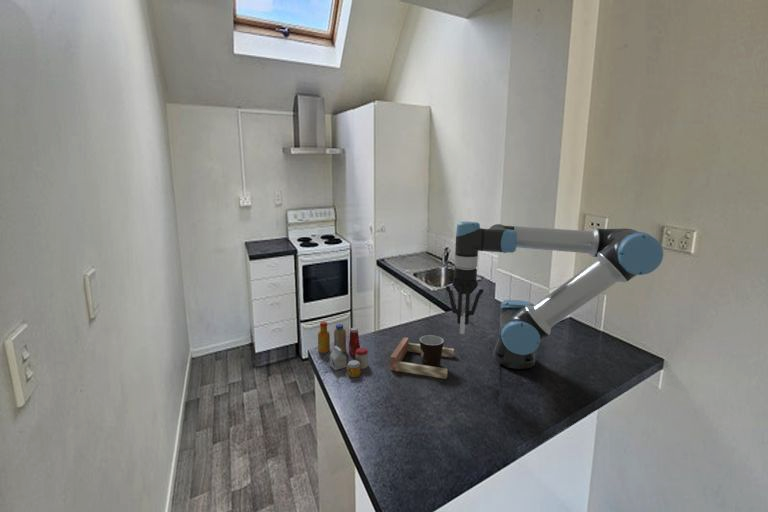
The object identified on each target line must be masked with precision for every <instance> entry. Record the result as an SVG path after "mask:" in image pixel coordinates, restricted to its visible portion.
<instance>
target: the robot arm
mask: <svg viewBox="0 0 768 512" xmlns="http://www.w3.org/2000/svg"><path fill="white" fill-rule="evenodd" d="M455 233H456V234H455V252H454V253H455V254H454V266H455V267H454V273H453V280H452V282H451V283H450V284H447V285H446V286H445V289H446V291H447V293H448V296H449V301H450V306H451V312H452V313H453V314H456V316H457V318H456V323H457V324H458V325H459V335H465V332H466V331H465V330H466V326H467V325H469V323H470V322H469V321H470V320H469V319H470V316H474V315H475V312H476V309H477V306H478V303H479V300H480V297H481V296H482V294H483V293H484V291H485V290H484V288H483V287H481V286H479V284H478V281H477V277H478V275H477V274H478V269H477V267H478V262H479V261H478V260H479V259H478V258H479V252H491V253H492V252H493V253H503V254H506V253H508V254H509V253H511V254H512V253H516V250H517V248H518V249H519V248H521V249H532V250H543V251H556V252H557V251H558V252H565V253H566V252H568V253H580V254H588V255H590V257H593V258H596V260H594V261H593V262H591V264H589V265H588V266H586V267H584V269H582V270H581V271H580V272H578V273H576V274H575V275H574V276H573V277H571V278H570V279H569V280H567V281H566V282H564V283H563V284H561V285H560V286H559V287H557V288H556V289H554V290H553V291H552V292H551V293H549V294H548V295H545V297H544V298H542V299H540V301H538V302H536V303H532V302H530V301H525V300H521V299H506V300H504V299H503V301H501V303H500V313H499V314H500V317H499V332H498V333H499V334H498V339H497V341H496V344H495V346H494V349H493V351H492V357H493V360H494V361H495V362H497V363H498V364H499V365H501V366H503V367H506V368H511V369H516V370H525V369H529V368H530V369H531V368H533V366H535V364H536V354H535V352H536V351H537V349H539V346H540V345H541V342H542V341H543V340H544V339H546V338H547V337H548V336H550V334H551V332H552V327H554V326H555V325H557V324H558V323H559V322H561V321H562V320H564V319H566V317H568V316H570V315H571V314H572V313H574V312H576V311H577V310H579V309H580V308H582V306H584V305H586V304H588V303H589V302H590V301H591V300H593V299H595V298H596V297H597V296H600V295H601V294H602V293H603V292H605V291H606V290H607V289H609V288H610V287H612V286H613V285H615V284H616V283H618V282H619V283H627V282H629V281H630V280H631V279H633V278H635V277H637V276H642V275H643V276H644V275H647V274H651V273H652V272H654V271H655V270H657V269H658V268H659V267H660V265H661V263H662V262H663V259H664V248H663V246H662V244H661V242H660V241H659V240H658V239H657V238H656V237H654V236H652V235H651V234H649V233H646V232H641V231H637V230H635V229H631V228H596V227H595V228H594V229H592V230H578V229H563V228H561V229H560V228H550V227H549V228H547V227H532V226H513V225H503V224H501V223H497V224H493V225H491V226H490V227H489V228H482V227H480V223H479V222H477V221H460V222H458V223H457V225H456V232H455ZM454 289H455V291H456V292H457V297H458V298H457V305H456V299H455V295H454V291H453V290H454ZM474 291H475V292H476V295H475V298H474V300H473V304H472V307H471V306H470V303H471V294H472V293H473V292H474ZM463 295H465V308H464V313H463V297H464V296H463ZM470 307H471V309H470Z"/></svg>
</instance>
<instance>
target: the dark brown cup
mask: <svg viewBox="0 0 768 512" xmlns="http://www.w3.org/2000/svg"><path fill="white" fill-rule="evenodd" d="M419 344H420V348H421V353H420V356H421V357H420V358H421V365H427V366H433V367H440V365H441V362H442V361H441V360H442V356H441V355H442V349H443V347H444V338H442V337H441V336H437V335H430V334H428V335H423V336H421V337H419ZM440 368H441V367H440Z"/></svg>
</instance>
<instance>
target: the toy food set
mask: <svg viewBox="0 0 768 512" xmlns="http://www.w3.org/2000/svg"><path fill="white" fill-rule="evenodd" d="M319 326H320V328H319V329H320V331H318V333H317V351H318V352H319V353H325V354H326V353H327V352H329V351H330V350H331V349H330V348H331V346H330V342H331V341H330V339H331V338H330V336H331V335H330V332H329V331H328V322H327V321H321V322H319ZM333 334H334V335H333V339H334V340H333V341H334V343H333V344H334V346H333V350H332V351H331V353H330V355H329V366H330V367H331V368H333V370H335V371H338V370H342V369H344V368H346V369H347V376H348V377H350V378H356V377H359V376H360V375H361V370H363V369H366V368H368V367H369V351H368V349H367V348H365V347H361V345H360V337H359V329H358V327H350V331H349V341H348V353H349V354H348V355H351V356H352V357H353V358H355V359H351V360H349V361H347V356H346V355H345V354H344V353H345V352H347V331H346V329H345V328H344V325H343V324H342V323H338V324H336V325H335V329H334V331H333Z"/></svg>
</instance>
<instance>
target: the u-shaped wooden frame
mask: <svg viewBox="0 0 768 512" xmlns="http://www.w3.org/2000/svg"><path fill="white" fill-rule="evenodd" d="M408 352H409V353H410V352H411V353H417V354H421V348H420V343H413V342H409V337H402V339H401V340H400V342H399V343H398V344H397V346H396V348H395V349H394V351H393V352H392V354H391V356H390V365H389V366H390V371H395V372H400V373H401V372H402V373H407V374H408V373H409V374H414V375H420V376H427V377H433V378H439V379H447V378H448V368H445V367H433V366H427V365H422V364H419V363H414V362H413V363H412V362H407V361H403V359H404V357H405V356H406V354H407V353H408ZM454 353H455V348H452V347H451V348H450V347H444V346H443V349H442V355H441V357H444V358H445V357H446V358H454Z"/></svg>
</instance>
